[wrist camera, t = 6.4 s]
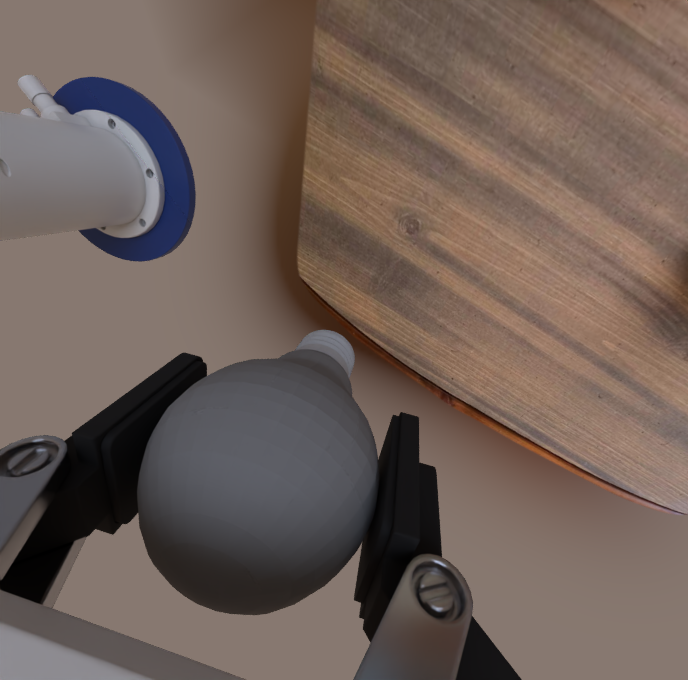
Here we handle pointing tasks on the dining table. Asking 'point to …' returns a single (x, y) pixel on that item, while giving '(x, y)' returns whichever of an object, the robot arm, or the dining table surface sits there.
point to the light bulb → (260, 480)
